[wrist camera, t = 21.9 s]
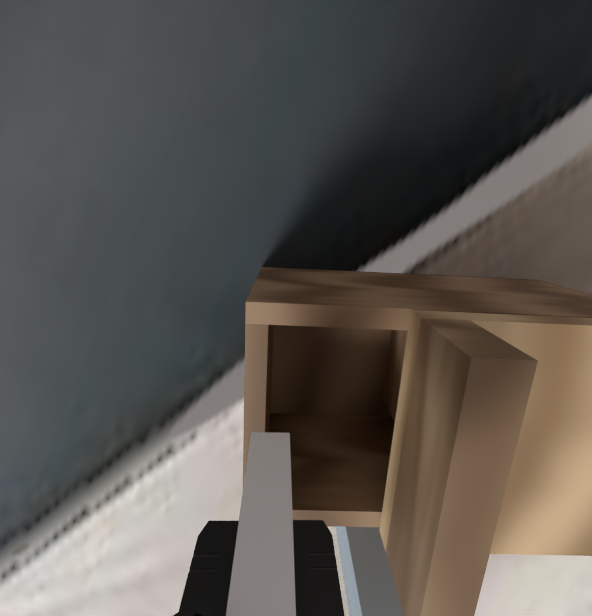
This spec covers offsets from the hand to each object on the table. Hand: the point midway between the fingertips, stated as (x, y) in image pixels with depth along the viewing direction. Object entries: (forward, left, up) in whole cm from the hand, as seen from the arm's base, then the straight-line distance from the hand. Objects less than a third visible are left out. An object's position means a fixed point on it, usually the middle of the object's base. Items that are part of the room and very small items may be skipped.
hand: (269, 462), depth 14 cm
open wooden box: (+6, +6, -13) cm, 16 cm away
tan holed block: (+10, +12, -3) cm, 16 cm away
